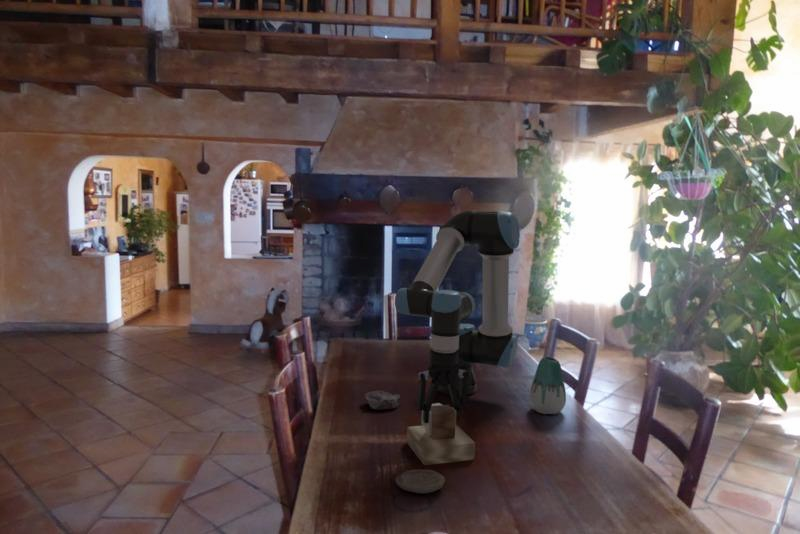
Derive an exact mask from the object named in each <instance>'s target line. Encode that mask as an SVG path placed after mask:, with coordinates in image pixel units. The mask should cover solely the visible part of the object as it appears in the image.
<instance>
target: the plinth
mask: <svg viewBox="0 0 800 534" xmlns="http://www.w3.org/2000/svg"><path fill="white" fill-rule="evenodd" d="M406 428H407V431H406V444H407V445H408V446H409V448H411V450H412V451H413V452H414V455H416V457H417V458H418V459H419V461H420V462H421V463H422V464H423V465H424V466H429V465H437V464H438V465H439V464H447V463H455V462H456V463H457V462H465V461H473V460H475V455H476V454H475V453H476V452H475V451H476V442H475V441H474V440H473V439H471V437H470V436H469V435H468V434H467V433H465V431H464V430H463V429H462V428H460V426H459V425H457V424H456V431H455V438H452V439H439V440H433V439H432V438H431V436H428V435H427V433H426V425H423V426H422V425H414V426H412V425H411V426H407V427H406Z"/></svg>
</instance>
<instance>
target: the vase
mask: <svg viewBox="0 0 800 534" xmlns="http://www.w3.org/2000/svg"><path fill="white" fill-rule="evenodd" d="M528 401H529V404H530V406H531V408H532V409H533V410H534V411H535V412H537V413H538V412H539V413H538V414H541V413H542V414H541V415H546V414H554V415H557V414H559V413H561V412H562V411H563V409H564V408H565V406H566V403H567V393H566V385H565V382H564V378H563V370H562V365H561V363H560V362H559V360H558V359H556V358H554V357H551V356H543V357H541V359H540V360H539V362H538V364H537V367H536V369H535V373H534V376H533V379H532V382H531V385H530V388H529V393H528Z"/></svg>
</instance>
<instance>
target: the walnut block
mask: <svg viewBox="0 0 800 534" xmlns="http://www.w3.org/2000/svg"><path fill="white" fill-rule="evenodd" d="M451 407H452V406H450V404H442V405H438V406H431V409H430V410H431V411H432V432H431V438H432V439H433V440H439V439H452V438H455V423H456V424H457V421H456V412H455V411H454V410H453V409H452V408H451Z"/></svg>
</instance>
